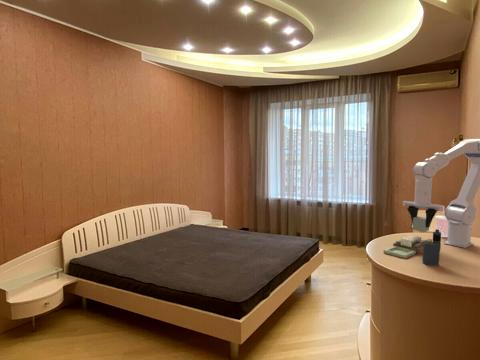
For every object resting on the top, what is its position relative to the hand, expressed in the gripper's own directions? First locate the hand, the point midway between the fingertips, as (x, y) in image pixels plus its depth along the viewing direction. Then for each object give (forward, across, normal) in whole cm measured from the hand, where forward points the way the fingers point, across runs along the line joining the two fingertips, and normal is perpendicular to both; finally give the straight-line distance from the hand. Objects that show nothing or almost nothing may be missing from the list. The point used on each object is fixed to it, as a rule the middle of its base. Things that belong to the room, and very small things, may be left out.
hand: (421, 226), depth 130 cm
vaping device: (+9, +11, -19) cm, 23 cm away
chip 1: (+6, -1, -9) cm, 11 cm away
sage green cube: (+2, 0, 0) cm, 2 cm away
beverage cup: (+9, -1, +24) cm, 26 cm away
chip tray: (+8, -1, -16) cm, 18 cm away
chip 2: (+6, -1, -4) cm, 8 cm away
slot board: (+8, -1, -4) cm, 9 cm away
